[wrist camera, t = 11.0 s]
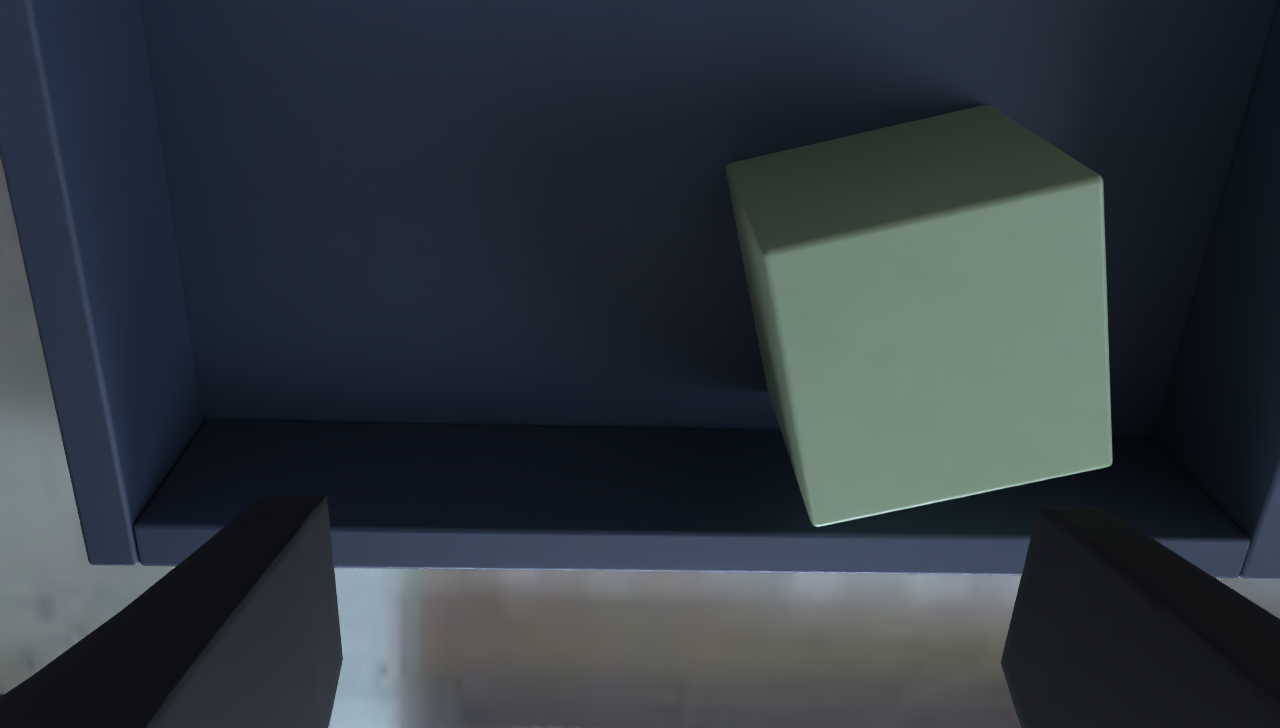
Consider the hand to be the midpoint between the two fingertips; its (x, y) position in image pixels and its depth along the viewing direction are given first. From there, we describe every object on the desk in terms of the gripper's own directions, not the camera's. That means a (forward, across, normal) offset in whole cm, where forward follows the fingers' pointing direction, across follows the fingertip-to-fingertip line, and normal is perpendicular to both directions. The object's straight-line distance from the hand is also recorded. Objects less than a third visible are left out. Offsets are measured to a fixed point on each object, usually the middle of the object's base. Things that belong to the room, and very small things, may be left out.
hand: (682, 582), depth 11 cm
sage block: (+9, -4, 0) cm, 10 cm away
